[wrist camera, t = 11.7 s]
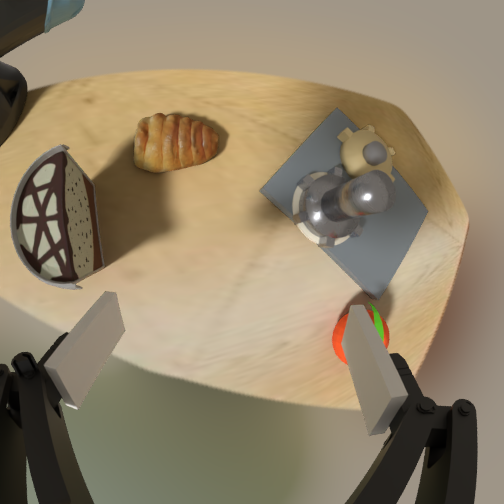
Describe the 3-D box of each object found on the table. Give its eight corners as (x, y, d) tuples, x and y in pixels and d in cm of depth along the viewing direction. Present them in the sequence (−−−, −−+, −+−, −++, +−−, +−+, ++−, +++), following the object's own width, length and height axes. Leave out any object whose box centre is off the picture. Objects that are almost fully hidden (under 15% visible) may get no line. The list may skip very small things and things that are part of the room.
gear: (276, 208, 30) (317, 185, 20) (318, 157, 31) (365, 123, 22) (334, 262, 31) (390, 262, 22) (369, 209, 33) (426, 195, 23)
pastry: (217, 122, 31) (222, 107, 27) (216, 175, 31) (220, 165, 27) (139, 122, 29) (134, 107, 25) (133, 175, 29) (127, 165, 25)
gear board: (254, 196, 31) (267, 185, 27) (334, 109, 34) (352, 93, 29) (368, 303, 35) (392, 309, 30) (422, 209, 37) (446, 204, 32)
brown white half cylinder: (49, 184, 26) (6, 159, 16) (94, 172, 27) (61, 138, 18) (61, 290, 26) (15, 301, 16) (107, 281, 28) (73, 291, 18)
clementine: (323, 298, 33) (355, 307, 26) (369, 295, 35) (405, 301, 28) (320, 361, 33) (350, 381, 26) (365, 352, 34) (398, 368, 28)
